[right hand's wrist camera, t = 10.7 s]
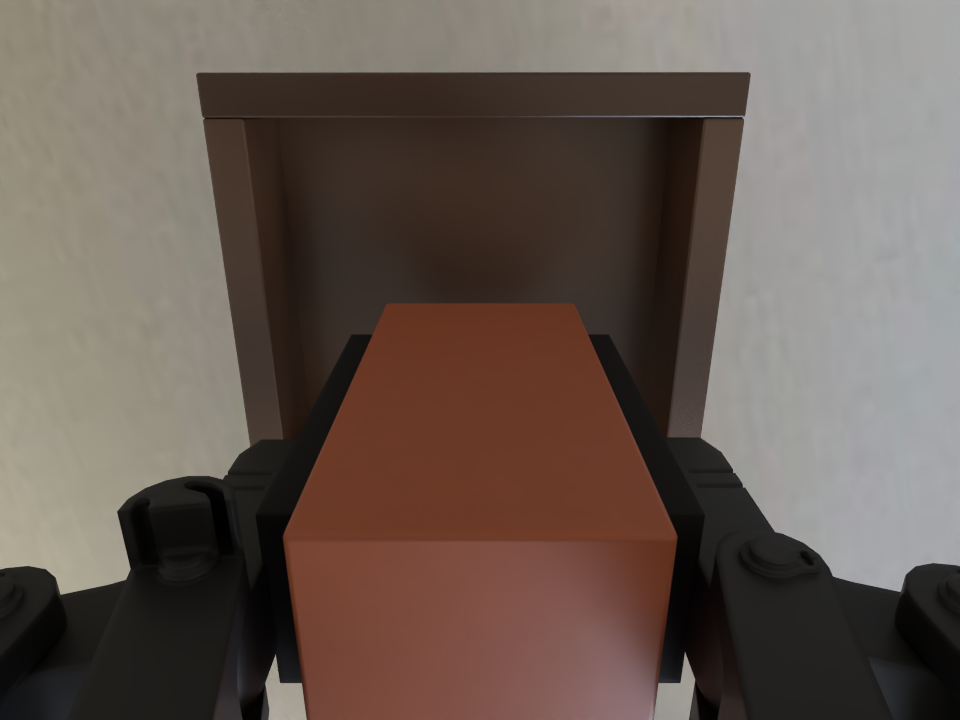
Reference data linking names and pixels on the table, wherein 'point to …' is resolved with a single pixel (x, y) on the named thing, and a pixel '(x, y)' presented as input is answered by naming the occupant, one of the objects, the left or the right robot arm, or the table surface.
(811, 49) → the table surface
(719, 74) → the walnut tray
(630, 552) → the terracotta block
